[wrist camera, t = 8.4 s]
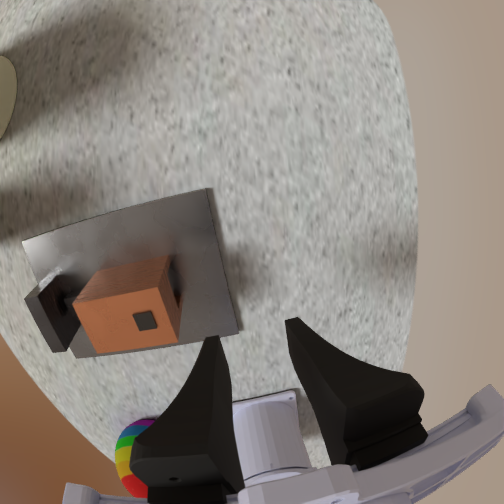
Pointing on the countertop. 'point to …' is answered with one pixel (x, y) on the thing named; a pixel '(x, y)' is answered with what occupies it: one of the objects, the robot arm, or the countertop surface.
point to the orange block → (130, 307)
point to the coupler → (129, 251)
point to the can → (7, 92)
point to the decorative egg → (123, 458)
